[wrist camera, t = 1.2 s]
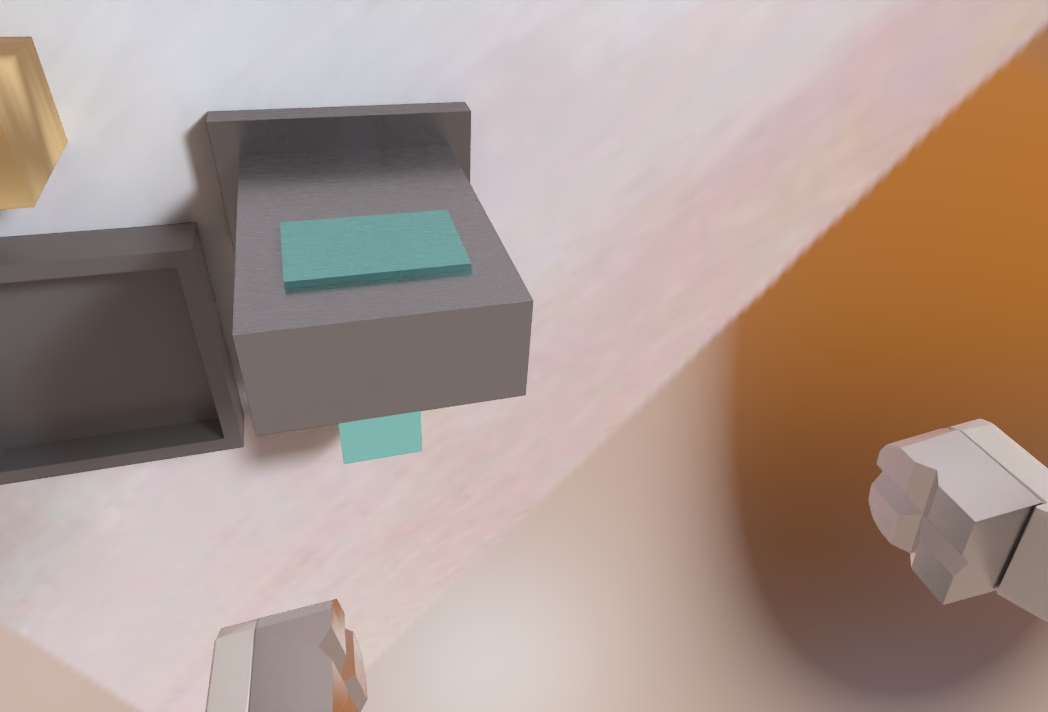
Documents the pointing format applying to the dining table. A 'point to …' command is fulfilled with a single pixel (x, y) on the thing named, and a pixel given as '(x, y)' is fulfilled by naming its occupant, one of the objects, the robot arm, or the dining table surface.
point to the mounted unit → (365, 265)
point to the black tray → (110, 352)
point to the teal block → (381, 437)
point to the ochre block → (25, 125)
